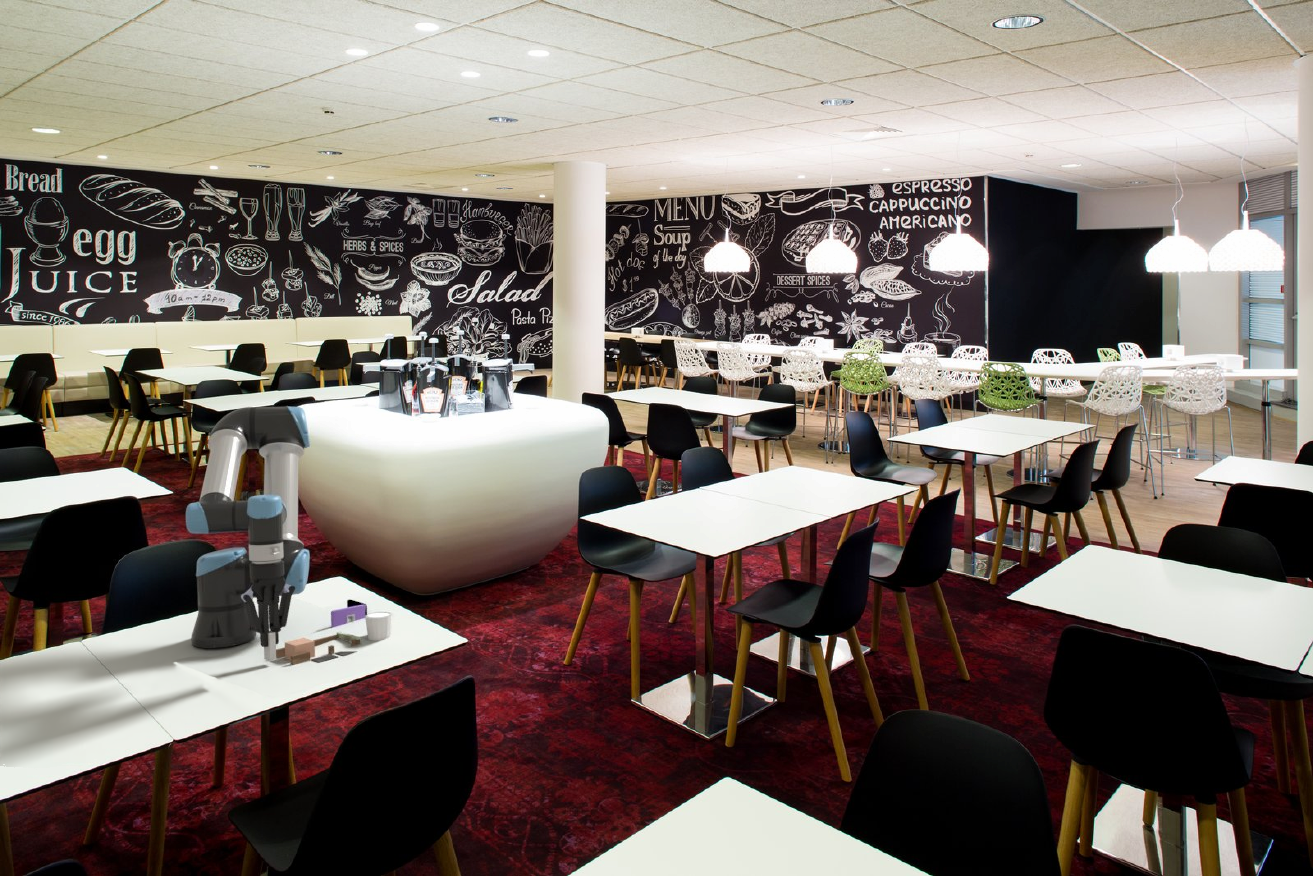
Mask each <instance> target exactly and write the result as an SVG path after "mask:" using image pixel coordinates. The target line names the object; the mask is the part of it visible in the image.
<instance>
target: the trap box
mask: <svg viewBox="0 0 1313 876" xmlns="http://www.w3.org/2000/svg"><path fill="white" fill-rule="evenodd" d="M338 639H341V640H344V641H346V642H348V643H350V644H351V646H352V647H357V646H359V645H361V640H362V639H361V637H360V636H359V635H358V636H357V635H354V634H350V633H346V632H343V631H338V632H336V634H333V635H330V636H326V637H321V638H318V639H313V641H315V647H317V646H321V645H324V644H326V643H329V642H332V641H334V640H338ZM327 648H328V649H327V653H328V654H326V655H323V656H318V657H313V658H310V652H304V653H300V654H296V655H292V656H291V660H290V665H292V666H294V665H298V664H301V663H305V662H310V661H313V662H316V663H323V662H326V661H327V662H328V661H330V660H334V659H337V658H339V656H342V657H345V656H348V655H353V654H354V653H355V654H356V653H357V652H358V651H357V650H353V651H352V650H351V651H338V652H335V645H331V644H330V645H328V646H327ZM281 658H285V646H284V647H281V648H276V660H277V659H281Z"/></svg>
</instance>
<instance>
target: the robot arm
mask: <svg viewBox="0 0 1313 876" xmlns="http://www.w3.org/2000/svg"><path fill="white" fill-rule="evenodd" d="M310 442H311V441H310V436H309V430H308V423H307V418H306V412H305V410H304V409H303V408H302V407H300V406H288V405H286V406H264V407H263V406H262V407H261V406H256V407H252V406H246V407H241V408H237V409H235V410H233V411H231V412H229V413H227V414H226V415H224V416H223V417H222V418H221V419H220V420H219V421H217V423H216V424H215V425H214V427H213V428H212V430H211V432H210V434H209V437H208V443H207V445H208V449H209V451H210V453H209V455H208V456H209V457H208V462H207V466H206V471H205V475H204V480H203V483H202V488H201V491H200V492H201V493H200V498H199V501H196V502H192V503H188V505H187V507H186V510H185V525H186V526H185V527H186V529H187V531H188V532H189V533H190V534H204V535H209V534H220V533H223V534H224V533H234V532H236V533H237V532H239V533H240V532H248V550H246V547H230V548H225V549H224V548H223V549H219V550H215V551H212V552H208V553H205V554H203V555H201V556H200V557H199V558H198V559H197V561H196V573H195V576H196V588H197V589H196V590H197V609H198V610H197V617H196V620H195V623H194V626H193V630H192V633H191V645H192V646H193V647H196V648H203V649H205V648H206V649H209V648H210V649H211V648H212V649H213V648H215V649H216V648H226V647H232V646H238V645H241V644H245V643H248V642H251V641H252V640H254V639H256V637H257V634H258V633H259V638H260V639H259V640H260V646H261V647H262V648H263V654H264V655H263V659H264V660H266V661H270V662H272V661H275V660H277V659H276V649H277V645H278V644H279V641H280V639H279V632H281V631H282V628H286V626H287V622H288V617H289V612H290V606H291V601H292V597H293V595H299V594H302V593H303V592H304V591H305V589H306V586H307V582H308V577H309V572H310V571H309V570H310V558H311V557H310V555H311V554H310V550H309V549H306V548H305V547H304V546H305V545H304V543H303V541H301V540H300V539H299V538H298V537H299V534H298V530H299V529H298V528H299V518H298V517H299V459H300V458H301V457H303V456H304V454H305V449H308V448H309V447H310V446H311V445H310V444H311V443H310ZM247 450H258V453H259V455H260V456H261V457H262V458H264V475H263V477H264V478H263V481H264V482H263V483H264V484H263V494H260V495H254V496H253V495H252V496H249V497H248V499H247V500H235V494H236V489H237V484H238V483H237V482H238V476H239V473H240V472H239V471H240V466H241V460H242V455H244V454H245V453H246V452H247ZM255 598H256V603H257V609H256V605H255V601H254V599H255ZM257 611H258V612H257Z"/></svg>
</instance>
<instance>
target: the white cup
mask: <svg viewBox="0 0 1313 876" xmlns="http://www.w3.org/2000/svg"><path fill="white" fill-rule="evenodd" d="M393 615H394V614H393V613H392V612H389V611H377V612H372V613H367V615H366V616H365V618H364V619H365V626H366V633H367V638H368V640H370V641H382V640H386V639H389V638H390V637H391V636H392V634H393V633H392V631H393V630H392V629H393V617H394V616H393Z"/></svg>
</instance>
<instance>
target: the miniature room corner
mask: <svg viewBox="0 0 1313 876" xmlns="http://www.w3.org/2000/svg"><path fill="white" fill-rule="evenodd" d="M367 614H368V605H367V604H366V603H363V602H360V601H357V600H353V599H347V600H346V607H344V608H338V609H333V610H331V611H330V624H331V625H330V628H336V627H339V626H342V625H346V624H350V623H351V622H352V621H353V622H355V621H359V620H361V619H362V620H363V619H365V616H366V615H367ZM349 617H351V621H349Z"/></svg>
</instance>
